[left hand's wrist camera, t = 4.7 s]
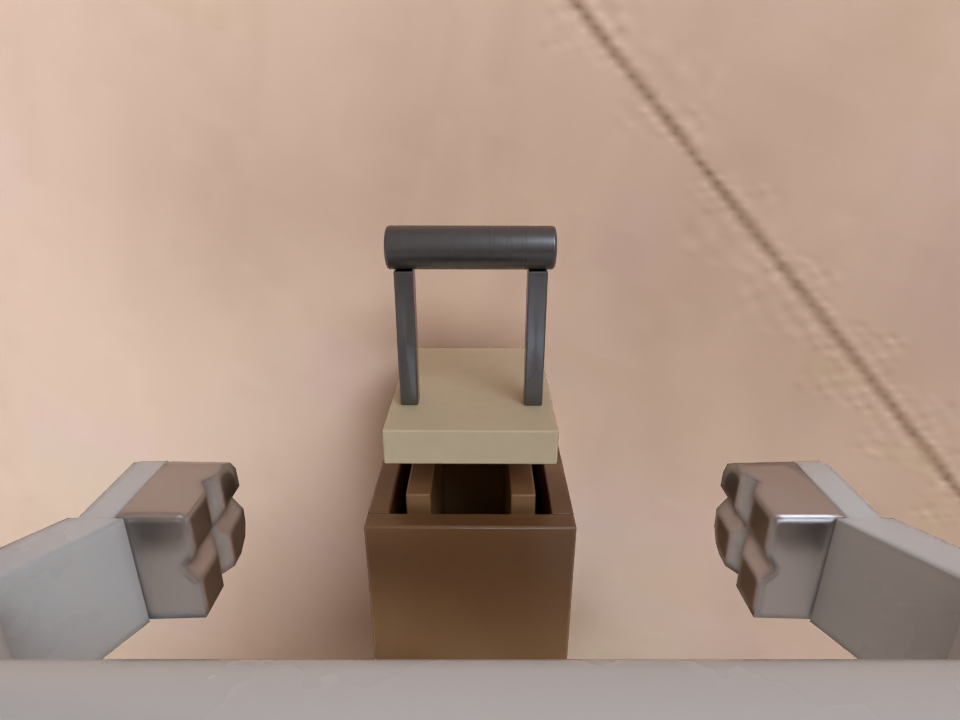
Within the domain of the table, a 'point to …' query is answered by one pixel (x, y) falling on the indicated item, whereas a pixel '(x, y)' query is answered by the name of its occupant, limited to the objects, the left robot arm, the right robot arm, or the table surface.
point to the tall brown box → (470, 575)
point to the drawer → (470, 380)
